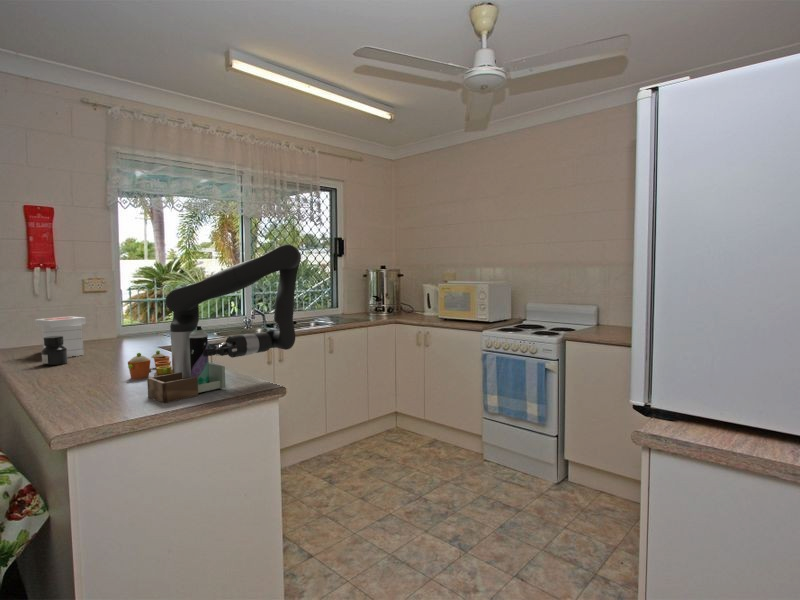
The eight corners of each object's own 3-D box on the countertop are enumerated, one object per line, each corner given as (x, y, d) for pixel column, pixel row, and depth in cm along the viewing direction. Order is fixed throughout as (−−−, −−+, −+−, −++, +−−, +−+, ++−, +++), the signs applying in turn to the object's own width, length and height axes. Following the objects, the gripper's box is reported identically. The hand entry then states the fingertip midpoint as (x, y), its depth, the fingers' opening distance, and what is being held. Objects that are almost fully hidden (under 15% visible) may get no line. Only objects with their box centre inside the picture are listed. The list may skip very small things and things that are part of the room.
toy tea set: (175, 377, 174) (174, 352, 173) (127, 382, 166) (126, 356, 166) (173, 365, 197) (171, 342, 196) (130, 369, 189) (129, 346, 189)
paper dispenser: (82, 348, 244) (80, 314, 243) (89, 355, 221) (86, 318, 220) (37, 352, 232) (34, 316, 231) (38, 361, 209) (35, 321, 208)
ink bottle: (45, 363, 204) (44, 336, 203) (70, 361, 207) (68, 334, 207) (39, 367, 195) (37, 339, 194) (64, 365, 199) (63, 337, 198)
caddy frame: (148, 396, 146) (147, 378, 145) (181, 389, 154) (180, 372, 153) (163, 403, 138) (162, 383, 138) (198, 395, 146) (197, 376, 146)
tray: (177, 388, 153) (176, 367, 152) (208, 382, 161) (207, 362, 160) (194, 394, 145) (193, 372, 145) (225, 387, 153) (224, 366, 153)
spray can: (190, 388, 149) (187, 327, 148) (192, 384, 155) (190, 325, 153) (208, 387, 151) (205, 326, 149) (210, 383, 156) (208, 324, 155)
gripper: (231, 333, 168) (187, 338, 156) (253, 336, 159) (207, 342, 147) (232, 353, 169) (188, 360, 156) (254, 358, 159) (208, 365, 147)
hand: (197, 351), depth 152 cm, fingers open, 8 cm apart
